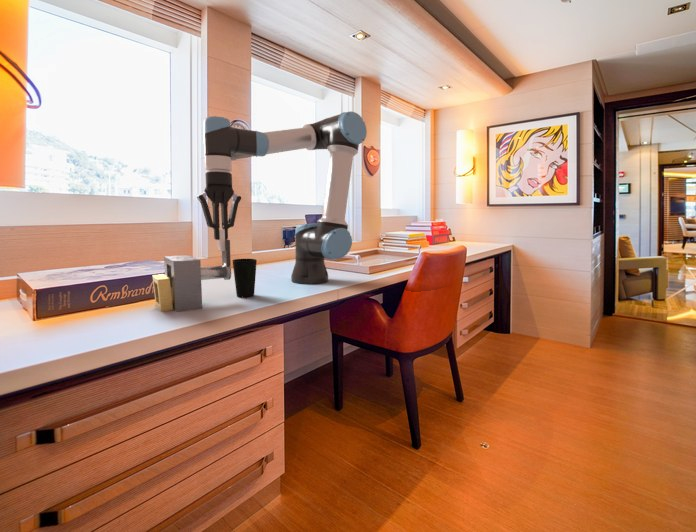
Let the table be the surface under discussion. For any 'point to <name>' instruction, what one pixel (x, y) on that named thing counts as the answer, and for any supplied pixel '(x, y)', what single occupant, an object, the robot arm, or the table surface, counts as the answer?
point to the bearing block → (184, 281)
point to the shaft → (219, 267)
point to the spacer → (162, 292)
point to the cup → (244, 277)
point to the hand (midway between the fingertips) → (221, 250)
